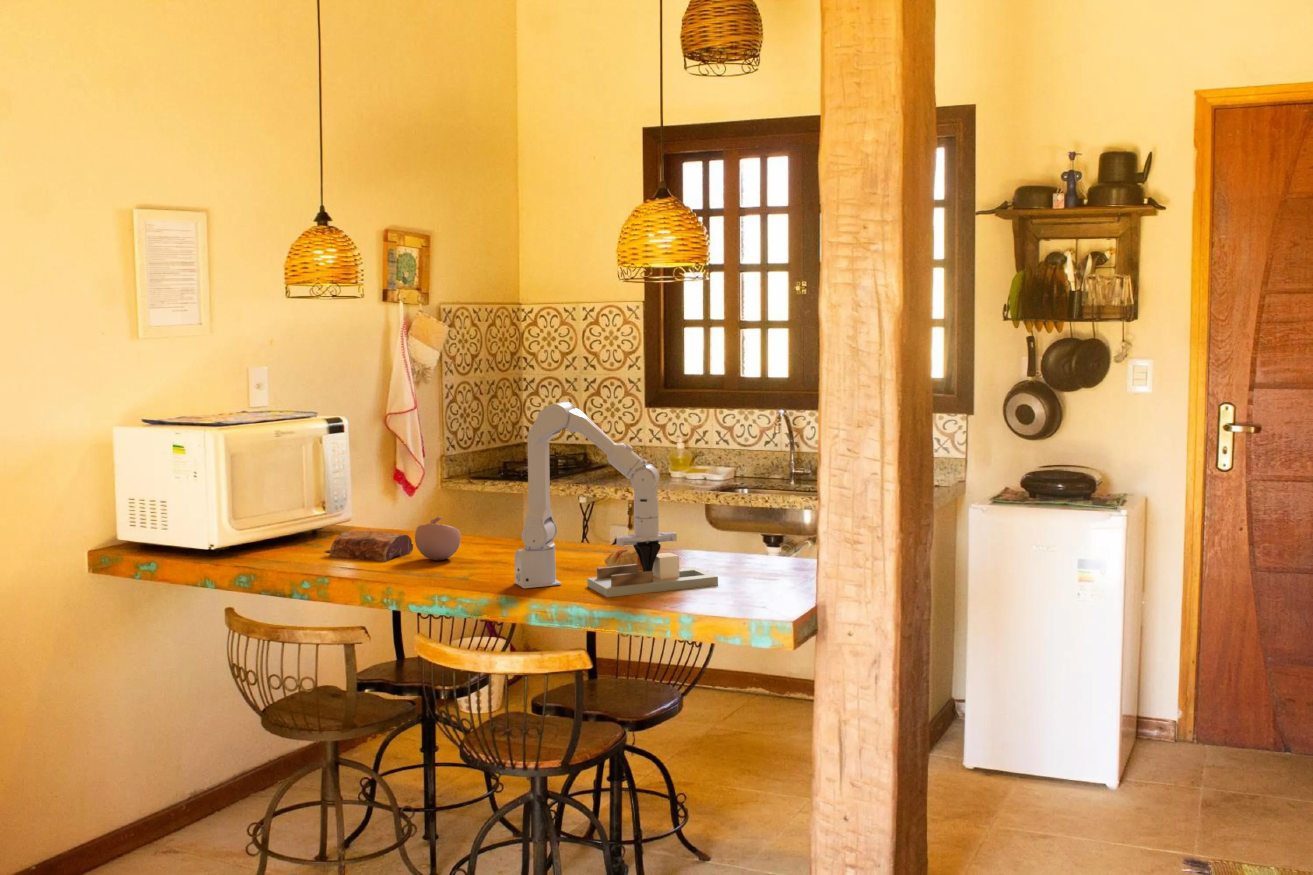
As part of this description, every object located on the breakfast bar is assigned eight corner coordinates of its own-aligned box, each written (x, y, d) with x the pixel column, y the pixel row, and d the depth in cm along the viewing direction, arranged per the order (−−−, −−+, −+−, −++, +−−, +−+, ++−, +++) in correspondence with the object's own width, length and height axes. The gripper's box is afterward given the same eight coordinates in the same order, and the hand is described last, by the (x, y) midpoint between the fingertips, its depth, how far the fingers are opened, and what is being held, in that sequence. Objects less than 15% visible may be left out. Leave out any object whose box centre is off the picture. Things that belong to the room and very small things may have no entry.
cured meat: (346, 546, 364) (345, 522, 363) (422, 550, 355) (421, 526, 354) (307, 559, 347) (305, 534, 346) (385, 564, 338) (384, 539, 337)
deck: (606, 597, 291) (606, 588, 290) (587, 586, 303) (587, 578, 302) (718, 584, 301) (717, 576, 301) (695, 574, 313) (695, 566, 313)
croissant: (598, 582, 325) (588, 557, 321) (620, 558, 331) (609, 533, 328) (665, 590, 312) (654, 564, 308) (685, 564, 318) (675, 539, 315)
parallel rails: (613, 586, 292) (612, 575, 292) (597, 578, 302) (596, 567, 302) (653, 582, 296) (653, 571, 296) (636, 574, 306) (636, 563, 306)
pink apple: (466, 555, 345) (464, 513, 343) (455, 564, 333) (453, 520, 332) (422, 555, 346) (421, 513, 345) (410, 564, 334) (408, 521, 333)
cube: (660, 578, 300) (659, 557, 299) (651, 575, 304) (650, 554, 304) (679, 576, 302) (679, 555, 301) (670, 572, 306) (669, 552, 306)
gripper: (623, 521, 293) (625, 579, 295) (681, 516, 299) (682, 573, 300) (612, 517, 300) (614, 574, 301) (669, 512, 305) (670, 568, 307)
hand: (647, 573), depth 301 cm, fingers closed
